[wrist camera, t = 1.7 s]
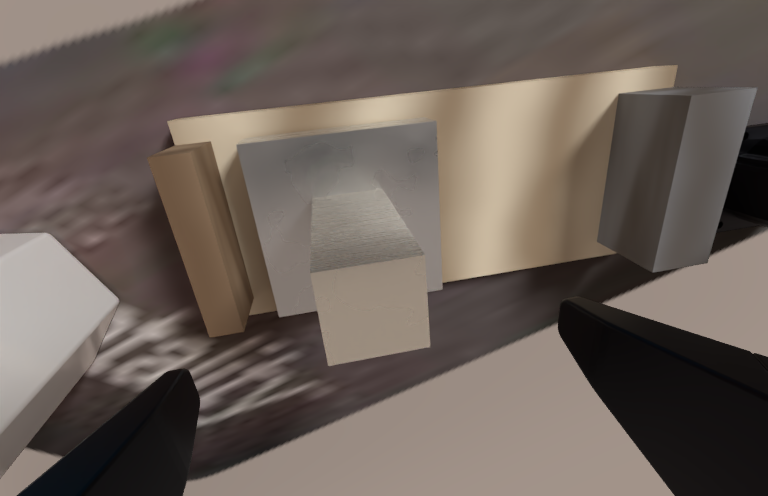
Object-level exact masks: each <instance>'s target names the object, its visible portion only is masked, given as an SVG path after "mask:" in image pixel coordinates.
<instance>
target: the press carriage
mask: <svg viewBox="0 0 768 496" xmlns="http://www.w3.org/2000/svg"><path fill="white" fill-rule="evenodd" d="M236 147H237V151H238V155H239V159H240V163H241V167H242V171H243V175H244V179H245V183H246V187H247V191H248V195H249V199H250V203H251V207H252V211H253V215H254V219H255V223H256V227H257V231H258V235H259V239H260V243H261V247H262V251H263V255H264V259H265V263H266V267H267V271H268V275H269V279H270V283H271V287H272V291H273V295H274V299H275V303H276V307H277V311H278V315H279V317H284V316H290V315H296V314H302V313H308V312H314V311H318V316H319V321H320V326H321V332H322V337H323V342H324V347H325V352H326V357H327V362H328V366H331V365H336V364H342V363H347V362H352V361H358V360H363V359H368V358H374V357H379V356H384V355H390V354H395V353H400V352H406V351H411V350H416V349H422V348H427V347H430V334H429V316H428V298H427V292H431V291H437V290H443V287H442V259H441V231H440V204H439V176H438V148H437V121H435V120H432V119H429V118H425V117H420V118H411V119H403V120H394V121H386V122H377V123H369V124H360V125H352V126H343V127H335V128H326V129H318V130H309V131H301V132H292V133H284V134H275V135H267V136H258V137H249V138H244V139H243V140H242V141H240V142H239V143H238V144H236Z"/></svg>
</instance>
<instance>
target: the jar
mask: <svg viewBox="0 0 768 496" xmlns="http://www.w3.org/2000/svg"><path fill="white" fill-rule="evenodd" d="M118 304H119V299H118V297H117V296H115V295H114V294H113V293H112V292H111V291H110V290H109V289H108V288H107V287H106V286H105V285H104V284H103V283H102V282H101V281H100V280H98V279H97V278H96V277H95V276H94V275H93V274H92V273H91V272H90V271H89V270H88V269H87V268H86V267H85V266H84V265H83V264H81V263H80V262H79V261H78V260H77V259H76V258H75V257H74V256H73V255H72V254H71V253H70V252H69V251H68V250H67V249H66V248H65V247H64V246H62V245H61V244H60V243H59V242H58V241H57V240H56V239H55V238H54V237H53V236H52V235H51V234H49V233H15V234H0V478H1V477H2V476H3V475H4V473H5V472H6V471H7V470H8V468H9V467H10V466H11V464H12V463H13V462H14V461H15V460H16V458H17V457H18V456H19V455H20V453H21V452H22V451H23V450H24V448H25V447H26V446H27V445H28V443H29V442H30V441H31V440H32V438H33V437H34V436H35V435H36V433H37V432H38V431H39V430H40V428H41V427H42V426H43V425H44V423H45V422H46V421H47V420H48V418H49V417H50V416H51V415H52V413H53V412H54V411H55V409H56V408H57V407H58V406H59V404H60V403H61V402H62V401H63V399H64V398H65V397H66V396H67V394H68V393H69V392H70V391H71V389H72V388H73V387H74V386H75V384H76V383H77V382H78V381H79V379H80V378H81V377H82V376H83V374H84V373H85V372H86V371H87V369H88V368H89V367H90V366H91V364H92V363H93V362H94V359H95V357H96V355H97V352H98V350H99V348H100V345H101V343H102V341H103V338H104V336H105V334H106V331H107V329H108V327H109V324H110V322H111V320H112V318H113V315H114V313H115V311H116V308H117V306H118Z"/></svg>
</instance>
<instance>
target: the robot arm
mask: <svg viewBox="0 0 768 496" xmlns="http://www.w3.org/2000/svg"><path fill="white" fill-rule="evenodd" d="M759 225H761V226H764V227H767V228H768V123H765V124H757V125H750V126H746V129H745V133H744V136H743V140H742V143H741V147H740V150H739V154H738V157H737V161H736V164H735V168H734V171H733V175H732V178H731V182H730V185H729V189H728V192H727V196H726V199H725V203H724V206H723V210H722V213H721V217H720V220H719V224H718V227H717V231H716V232H723V231H729V230H735V229H741V228H747V227H753V226H759ZM558 330H559V334H560V336H561V338H562V340H563V341H564V343H565V344H566V346H567V348H568V349H569V351H570V352H571V354H572V356H573V357H574V359H575V360H576V362H577V363H578V365H579V367H580V369H581V370H582V372H583V374H584V375H585V377H586V378H587V380H588V381H589V383H590V384H591V386H592V388H593V389H594V390H595V392H596V393H597V394H598V396H599V397H600V398H601V400H602V401H603V402H604V404H605V405H606V406H607V408H608V409H609V410H610V412H611V413H612V414H613V415H614V417H615V418H616V419H617V421H618V422H619V423H620V425H621V426H622V427H623V429H624V430H625V431H626V433H627V434H628V435H629V436H630V438H631V439H632V440H633V442H634V443H635V444H636V446H637V447H638V448H639V450H640V451H641V452H642V454H643V455H644V456H645V457H646V459H647V460H648V461H649V462H650V464H651V465H652V467H653V468H654V469H655V471H656V472H657V473H658V474H659V476H660V477H661V478H662V480H663V481H664V482H665V483H666V485H667V486H668V488H669V489H670V490H671V491H672V493H673V494H674V495H675V496H768V357H766V356H763V355H759V354H756V353H754V354H752V353H751V352H750V351H747V350H744V349H741V348H738V347H735V346H731V345H728V344H725V343H722V342H719V341H716V340H713V339H710V338H707V337H703V336H700V335H697V334H694V333H691V332H688V331H685V330H681V329H679V328H676V327H672V326H669V325H666V324H663V323H660V322H657V321H654V320H650V319H648V318H644V317H641V316H638V315H635V314H632V313H629V312H626V311H623V310H620V309H617V308H613V307H610V306H607V305H604V304H601V303H598V302H595V301H592V300H589V299H585V298H582V297H572V298H566V299H564V300H562V302H561V304H560V311H559V320H558ZM199 408H200V398H199V394H198V391H197V389H196V386H195V384H194V381H193V379H192V376H191V374H190V372H189V371H188V370H187V369H185V368H183V369H177V370H172V371H168V372H166V373H164V374H163V375H162V376H161V377H160V378H158V379H157V380H156V381H155V382H154V383H152V384H151V385H150V386H149V387H147V388H146V389H145V390H144V391H143V392H141V393H140V394H139V395H138V396H137V397H135V398H134V399H133V400H132V401H131V402H129V403H128V404H127V405H126V406H124V407H123V408H122V409H121V410H120V411H118V412H117V413H116V414H115V415H114V416H112V417H111V418H110V419H109V420H108V421H106V422H105V423H104V424H103V425H101V426H100V427H99V428H98V429H97V430H95V431H94V432H93V433H92V434H91V435H89V436H88V437H87V438H86V439H85V440H83V441H82V442H81V443H80V444H78V445H77V446H76V447H75V448H74V449H72V450H71V451H70V452H69V453H68V454H66V455H65V456H64V457H63V458H61V459H60V460H59V461H58V462H57V463H56V464H54V465H53V466H52V467H51V468H49V469H48V470H47V471H46V472H45V473H43V474H42V475H41V476H40V477H38V478H37V479H36V480H35V481H34V482H32V483H31V484H30V485H29V486H28V487H26V488H25V489H24V490H23V491H22V492H20V493H19V494H18V495H17V496H183V492H184V489H185V485H186V481H187V477H188V473H189V468H190V463H191V457H192V451H193V445H194V439H195V433H196V426H197V420H198V414H199Z"/></svg>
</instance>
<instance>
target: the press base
mask: <svg viewBox="0 0 768 496" xmlns="http://www.w3.org/2000/svg"><path fill="white" fill-rule="evenodd" d="M677 66H678V65H670V66H652V67H643V68H634V69H625V70H616V71H607V72H598V73H589V74H579V75H570V76H561V77H552V78H543V79H534V80H525V81H516V82H506V83H497V84H488V85H479V86H470V87H461V88H452V89H443V90H434V91H424V92H415V93H406V94H397V95H388V96H379V97H370V98H361V99H351V100H342V101H333V102H324V103H315V104H306V105H297V106H288V107H279V108H269V109H260V110H251V111H242V112H233V113H224V114H215V115H206V116H196V117H187V118H179V119H175V120H171V121H167V122H168V125H169V128H170V131H171V135H172V138H173V141H174V144H175V146H173V147H170V148H168V149H166V150H163V151H161V152H159V153H157V154H154V155H152V156H150V157H147V159H148V162H149V165H150V168H151V171H152V174H153V177H154V179H155V182H156V185H157V188H158V191H159V194H160V197H161V199H162V202H163V205H164V208H165V211H166V214H167V217H168V220H169V222H170V225H171V228H172V231H173V234H174V237H175V240H176V242H177V245H178V248H179V251H180V254H181V257H182V260H183V263H184V265H185V268H186V271H187V274H188V277H189V280H190V283H191V286H192V288H193V291H194V294H195V297H196V300H197V303H198V306H199V308H200V311H201V314H202V317H203V320H204V323H205V326H206V329H207V331H208V334H209V337H210V338H211V337H217V336H223V335H228V334H234V333H240V332H244V330H245V327H246V323H247V320H248V317H249V315H254V314H260V313H266V312H272V311H277V307H276V303H275V299H274V295H273V291H272V287H271V283H270V279H269V275H268V271H267V267H266V263H265V259H264V255H263V251H262V247H261V243H260V239H259V235H258V231H257V227H256V223H255V219H254V215H253V211H252V207H251V203H250V199H249V195H248V191H247V187H246V183H245V179H244V175H243V171H242V167H241V163H240V159H239V155H238V151H237V147H236V144H238V143H239V142H240V141H242V140H243V139H244V138H249V137H258V136H267V135H275V134H284V133H292V132H301V131H309V130H318V129H326V128H335V127H343V126H352V125H360V124H369V123H377V122H386V121H394V120H403V119H411V118H420V117H425V118H429V119H432V120H435V121H437V148H438V176H439V204H440V231H441V259H442V283H444V282H450V281H456V280H462V279H468V278H474V277H480V276H486V275H492V274H498V273H503V272H509V271H515V270H521V269H527V268H533V267H539V266H545V265H551V264H557V263H563V262H569V261H575V260H581V259H586V258H592V257H598V256H604V255H610V254H616V253H618V254H620V255H622V256H623V257H625V258H627V259H629V260H631V261H632V262H634V263H636V264H638V265H640V266H641V267H643V268H645V269H647V270H648V271H650V272H652V273H654V272H659V271H665V270H670V269H676V268H682V267H687V266H693V265H699V264H704V263H707V262H708V259H709V255H710V252H711V248H712V245H713V241H714V238H715V234H716V231H717V227H718V224H719V220H720V217H721V213H722V210H723V206H724V203H725V199H726V196H727V192H728V189H729V185H730V182H731V178H732V175H733V171H734V168H735V164H736V161H737V157H738V154H739V150H740V147H741V143H742V140H743V136H744V133H745V129H746V126H747V122H748V119H749V115H750V112H751V108H752V105H753V101H754V98H755V94H756V91H757V88H728V87H673V86H674V81H675V76H676V71H677Z"/></svg>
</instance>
